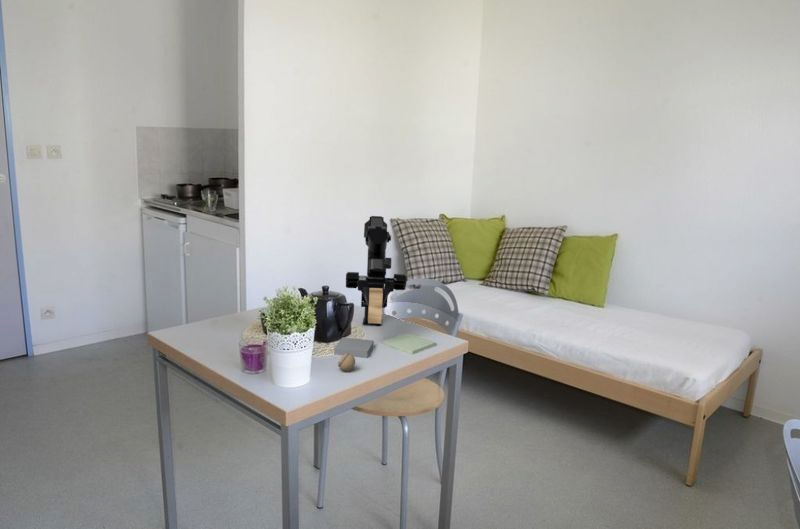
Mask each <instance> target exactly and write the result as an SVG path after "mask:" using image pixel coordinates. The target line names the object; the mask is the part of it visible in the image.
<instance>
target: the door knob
mask: <svg viewBox="0 0 800 529" xmlns="http://www.w3.org/2000/svg"><path fill="white" fill-rule="evenodd" d="M341 356H342V357H341V358H340V359H339V361H338V363H337V364H338V365H337V367H339V370H341V371H343V372H350V371H351V370H353V369H354V367H355V366H356V358H355V357H354V356H353V355H351V354H349V353H346V354H344V355H341Z"/></svg>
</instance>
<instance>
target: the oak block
mask: <svg viewBox="0 0 800 529" xmlns="http://www.w3.org/2000/svg"><path fill="white" fill-rule="evenodd" d="M382 299H383V289H382V288H369V308H368V323H379V324H381V325H382V323H381V319H382V318H383V317H382V312H383V308H382Z"/></svg>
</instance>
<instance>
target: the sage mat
mask: <svg viewBox="0 0 800 529" xmlns="http://www.w3.org/2000/svg"><path fill="white" fill-rule="evenodd" d="M382 342H383V343H382V344H383V345H385V346H388V347H392V348H393V347H394V348H393V349H396V350H400V351H402V352H405V353H408V354H411V355H414V354H417V353H419V351H420V352H422V351H425V350H427V348H428V349H429V348H433V347H436V346H437V342H436V341H433V340H430V339H427V338H425V337H422V336H417V335H415V334H412V333H408V332H405V333H403V334H400V335H397V336H394V337H391V338H387V339H384V340H383V341H382ZM435 345H436V346H435ZM432 346H433V347H432ZM424 349H425V350H424Z"/></svg>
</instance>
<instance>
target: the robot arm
mask: <svg viewBox="0 0 800 529" xmlns="http://www.w3.org/2000/svg"><path fill="white" fill-rule="evenodd" d="M363 229H364V231H363V238H364V239H365V240H364V241H365V245H366V246H367V247H368V248H367V264H366V265H367V268H366V275H360V273H359V271H355V272H354V271H347V272H346V274H345V288H346V289H357V291H359V292H361V300H360V301H361V302H360V307H361V308H364V314H363V315H364V316H363V319H362V323H361V324H362V326H377V327H380V326H382V321H383V319H382V318H381V324H379V323H368V308H369V288H382V289H383V299H382V309H386V308H387V307H388V298H389V295H390V293H393V292H394V290H395V291H405V290H406V288H407V281H408V280H407V275H406V273H393V277H386V276H387V270H389V269H392V257H386V252H387V251H386V250H387V245H388V243H390V242H391V241H392V235H391V233H390V231H388V224H387V222H385V221H384V216H381V215H380V216H379V215H378V216H377V215H371V216H369V219H368V220H367V221H366V222H365V223H364V228H363Z"/></svg>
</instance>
